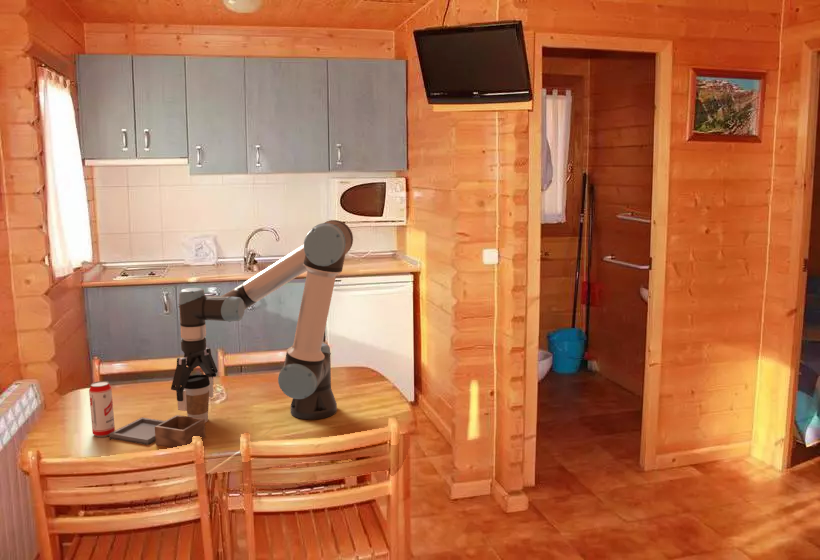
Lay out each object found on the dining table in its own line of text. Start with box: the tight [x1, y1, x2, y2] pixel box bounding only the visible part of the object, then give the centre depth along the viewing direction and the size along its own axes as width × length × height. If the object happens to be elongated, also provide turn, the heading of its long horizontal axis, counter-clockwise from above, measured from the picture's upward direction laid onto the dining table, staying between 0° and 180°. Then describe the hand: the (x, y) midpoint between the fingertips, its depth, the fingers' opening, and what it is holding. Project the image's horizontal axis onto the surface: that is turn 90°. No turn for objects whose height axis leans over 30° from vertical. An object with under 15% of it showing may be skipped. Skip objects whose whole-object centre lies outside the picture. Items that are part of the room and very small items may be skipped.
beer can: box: [88, 380, 116, 438], centre depth 220 cm, size 6×6×16 cm
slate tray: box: [108, 417, 165, 446], centre depth 220 cm, size 14×14×2 cm
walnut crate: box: [155, 414, 206, 448], centre depth 214 cm, size 10×10×6 cm
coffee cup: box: [184, 374, 210, 423], centre depth 229 cm, size 8×8×15 cm
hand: (196, 403), depth 229 cm, fingers open, 13 cm apart
